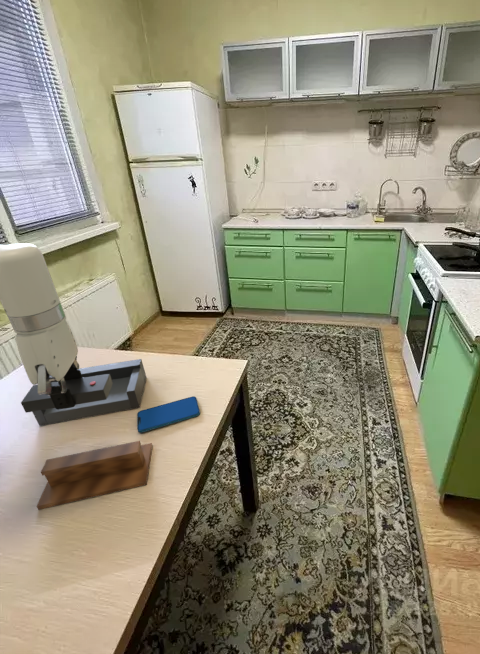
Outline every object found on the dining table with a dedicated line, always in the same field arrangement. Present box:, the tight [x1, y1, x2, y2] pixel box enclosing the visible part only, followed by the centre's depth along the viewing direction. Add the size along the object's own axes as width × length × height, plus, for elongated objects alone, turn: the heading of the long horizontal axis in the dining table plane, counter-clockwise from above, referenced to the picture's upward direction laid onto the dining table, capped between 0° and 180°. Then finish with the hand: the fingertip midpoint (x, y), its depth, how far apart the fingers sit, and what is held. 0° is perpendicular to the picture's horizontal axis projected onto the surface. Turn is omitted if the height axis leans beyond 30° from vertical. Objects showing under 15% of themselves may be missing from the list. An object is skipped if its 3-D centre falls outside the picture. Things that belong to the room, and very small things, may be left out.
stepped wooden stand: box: [36, 440, 153, 511], centre depth 68 cm, size 20×10×6 cm, turn 104°
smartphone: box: [136, 395, 201, 434], centre depth 84 cm, size 7×1×15 cm
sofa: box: [32, 358, 147, 427], centre depth 89 cm, size 24×13×7 cm, turn 104°
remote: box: [20, 374, 113, 413], centre depth 63 cm, size 14×5×3 cm, turn 103°
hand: (71, 396), depth 64 cm, fingers closed on remote, 5 cm apart
